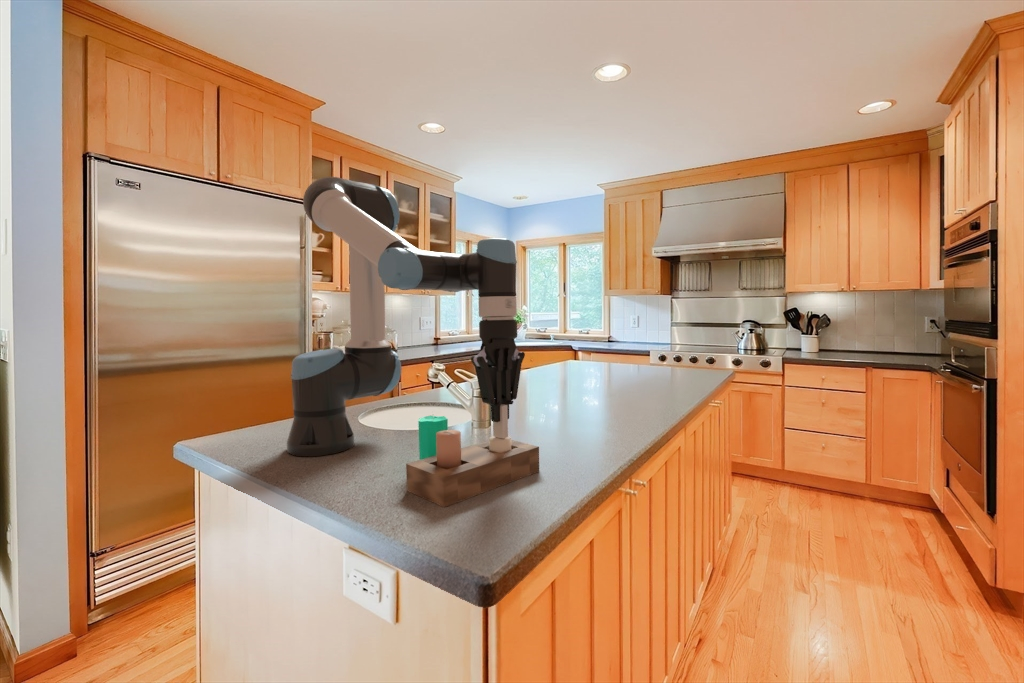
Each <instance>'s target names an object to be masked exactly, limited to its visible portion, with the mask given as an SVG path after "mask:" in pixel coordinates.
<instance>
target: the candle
mask: <svg viewBox="0 0 1024 683" xmlns="http://www.w3.org/2000/svg"><path fill="white" fill-rule="evenodd" d="M417 422H418V453H419V455H418V456H419V460H421V459H425V458H429V457H432V456H436V455H437V449H436V433H437V432H439V431H444V430H449V429H448V428H449V426H448V425H449V424H448V418H447V417H446V416H445V415H442V416H437V415H436V416H435V415H426V416H423V417H420V418H419V419H418V421H417Z"/></svg>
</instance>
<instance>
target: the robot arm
mask: <svg viewBox="0 0 1024 683" xmlns="http://www.w3.org/2000/svg"><path fill="white" fill-rule="evenodd" d="M302 203H303V204H302V205H303V210H304V212H305V214H306V216H307V217H308V218H309V220H310V221H311V222H312V224H314V225H315V226H317V227H319V229H321V230H323V231H324V232H332V233H333V234H335V235H336V236H337V237H338V238H340V239H341V240H342V241H344V242H345V243H347V245H348V248H349V249H348V252H349V254H348V257H349V258H348V259H349V261H348V262H349V263H348V264H349V310H350V318H349V320H350V339H349V340H348V341H347V342H346V343H345V344H344V351H343V349H341V348H326V349H319V350H312V351H308V352H305V353H301V354H299V355H296V356H295V357H294V358H293V359H292V361H291V373H290V378H291V386H292V388H291V389H292V390H291V391H292V407H293V408H292V409H293V420H292V424H291V427H290V431H289V435H288V437H287V440H286V452H287V453H288V454H289V453H290V454H289V455H291V454H292V456H295V455H296V456H297V457H320V456H328V455H332V454H337V453H341V452H344V451H347V450H349V449H351V448H353V447H354V446H355V435H354V432H353V429H352V427H351V424H350V422H349V419H348V417H347V414H346V401H349V400H356V399H361V398H362V399H363V398H368V397H379V396H380V395H384V394H388V393H389V392H392V391H393V390H394V389H395V387H396V386H397V385H398V384H399V382H400V379H401V373H402V363H401V360H400V359H399V355H398V353H397V352H395V351H394V350H393V349H392V344H391V342H390V341H388V339H387V338H386V296H385V294H386V293H385V290H386V289H385V288H386V287H388V288H390V289H397V290H401V291H408V290H409V291H410V290H413V291H415V290H418V291H419V290H420V291H425V290H426V291H428V290H429V291H444V292H450V293H451V292H455V293H458V292H462V291H472V290H473V291H475V290H477V291H478V293H477V294H478V295H477V296H478V317H479V318H481V320H479V322H478V330H479V331H478V332H479V335H478V336H479V339H481V346H480V348H479V350H480V352H478V354H477V355H472V356H471V357H470V361H471V363H472V364H473V366H474V369H475V375H476V377H477V382H478V387H479V392H480V397H481V402H482V403H483V404H487V405H490V420H491V422H492V432H493V433H492V434H493V435H492V436H494V437H498V438H502V439H503V438H507V437H508V436H509V427H508V426H509V425H508V424H509V419H510V405H513V404H514V400H516V399H517V397H518V393H519V392H518V391H519V385H520V379H521V378H520V377H521V370H522V363H523V361H524V359H525V356H526V355H525V354H526V353H525V352H524V351H519V350H518V348H517V344H516V341H515V339H517V337H518V321H517V319H514V318H516V317H517V316H518V313H517V312H518V311H517V310H518V308H517V263H518V262H517V261H518V260H517V257H516V256H517V255H516V246H515V243H514V241H512V240H511V239H508V238H501V237H499V238H497V237H496V238H495V237H493V238H492V237H491V238H484V239H483V238H482V239H480V240H479V241H477V244H476V245H477V246H476V248H477V249H476V252H471V253H470V252H468V253H450V252H438V251H433V250H432V251H430V250H424V249H423V250H422V249H420V248H418V247H416V246H414V245H413V244H411V243H409V242H408V241H407V240H406V239H404V238H402V237H401V236H400V235H398V234H397V233H396V232H395V231H396V230H397V228H398V225H399V222H400V206H399V202H398V200H397V198H396V196H395V195H393V194H392V192H391V191H390V190H389V189H387V188H384V187H381V186H378V185H376V184H373V183H365V182H361V181H357V180H352V179H351V180H350V179H345V178H341V177H337V176H326V177H325V176H324V177H321V178H319V179H316V180H314V181H313V182H311V183H310V184H309V186H308V187H307V188H306V190H305V191H304V194H303V199H302ZM385 286H386V287H385ZM296 456H295V457H296Z"/></svg>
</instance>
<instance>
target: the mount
mask: <svg viewBox="0 0 1024 683" xmlns="http://www.w3.org/2000/svg"><path fill="white" fill-rule="evenodd" d="M405 471H406V491H407V492H408V493H409V492H410V493H411V494H413V495H415V496H418V497H419V498H423V499H425V500H427V501H429V502H432V503H434V504H437V505H438V506H441V507H443V508H446V507H448V506H451V505H452V506H453V504H457V503H460V502H462V501H464V500H467V499H470V498H472V497H475V496H478V495H481V494H483V493H485V492H488V491H489V492H490V490H491V491H492V490H493V489H496V488H498V487H499V488H500V487H502V486H504V485H506V484H507V485H508V484H509V483H512V482H515V481H517V480H519V479H523V478H525V477H528V476H530V475H533V474H536V473H538V472H540V446H537V445H534V444H529V443H525V442H521V441H517V440H513V439H511V450H508V451H505V452H502V453H499V452H495V451H491V450H489V440H487V441H483V442H479V443H476V444H473V445H469V446H465V447H461V465H460V466H457V467H453V468H450V469H447V470H446V469H444V468H441V467H438V466H437V455H436V456H432V457H429V458H425V459H421V460H420V459H419V460H415V461H414V460H413V461H411V462H408V463H406V464H405Z"/></svg>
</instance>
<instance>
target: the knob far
mask: <svg viewBox="0 0 1024 683" xmlns="http://www.w3.org/2000/svg"><path fill="white" fill-rule="evenodd" d="M488 439H489V440H488V441H489V450H491V451H495V452H499V453H502V452H505V451H508V450H511V440H512V437H511V436H510V435H508V437H507V438H503V439H502V438H498V437H494V436H493V435H492V436H489V437H488Z"/></svg>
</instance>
